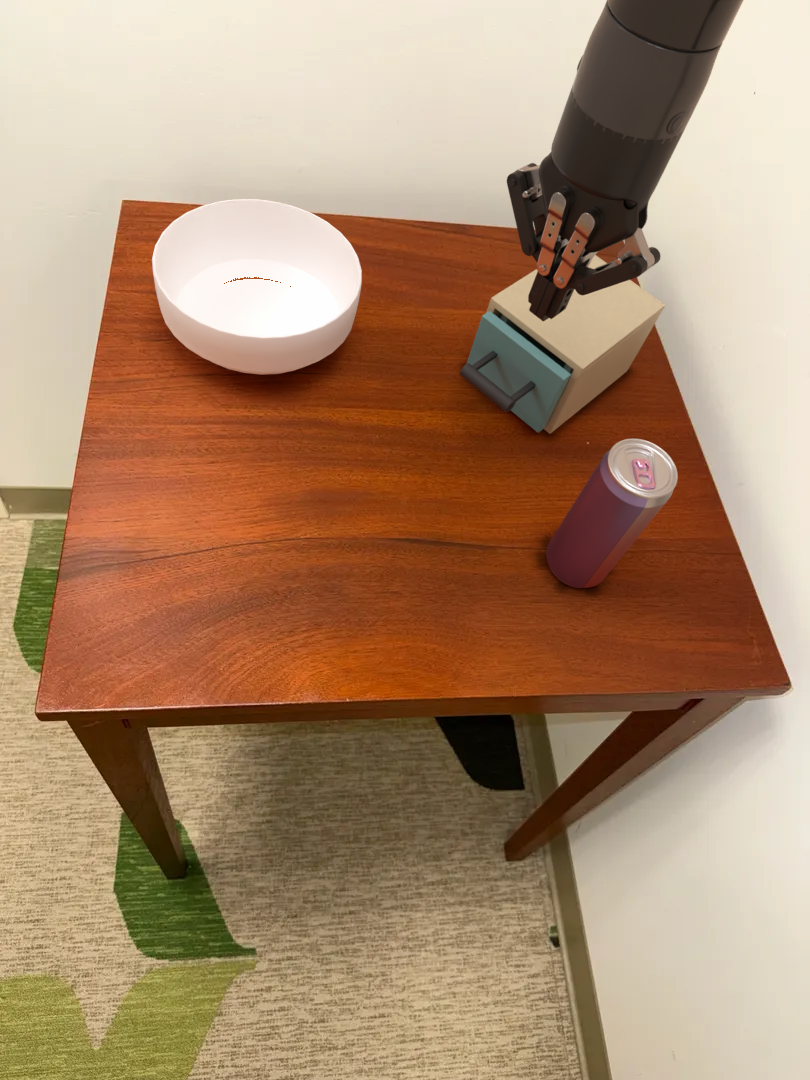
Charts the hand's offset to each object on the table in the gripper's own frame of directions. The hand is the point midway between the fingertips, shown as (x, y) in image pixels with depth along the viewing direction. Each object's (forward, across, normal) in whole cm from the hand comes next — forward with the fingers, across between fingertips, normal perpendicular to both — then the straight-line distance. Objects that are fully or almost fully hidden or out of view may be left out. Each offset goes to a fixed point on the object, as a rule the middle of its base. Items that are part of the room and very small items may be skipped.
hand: (542, 312), depth 62 cm
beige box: (+18, +2, -14) cm, 23 cm away
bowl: (+18, +26, +8) cm, 32 cm away
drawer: (+17, +3, -9) cm, 19 cm away
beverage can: (+18, -14, +4) cm, 23 cm away
